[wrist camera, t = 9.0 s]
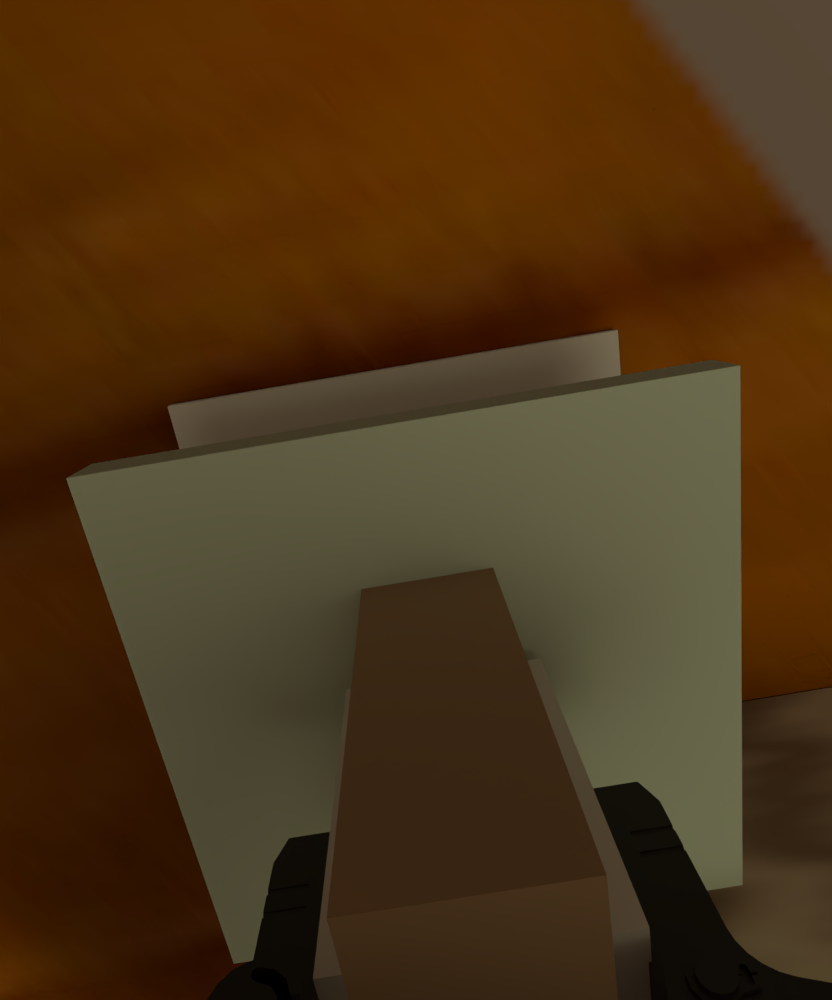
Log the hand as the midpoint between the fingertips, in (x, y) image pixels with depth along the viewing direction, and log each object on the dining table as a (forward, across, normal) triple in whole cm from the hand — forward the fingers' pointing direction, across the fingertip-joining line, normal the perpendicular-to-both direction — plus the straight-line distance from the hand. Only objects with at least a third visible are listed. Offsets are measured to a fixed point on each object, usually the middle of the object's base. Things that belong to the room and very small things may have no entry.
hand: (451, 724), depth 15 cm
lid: (+3, 0, 0) cm, 3 cm away
